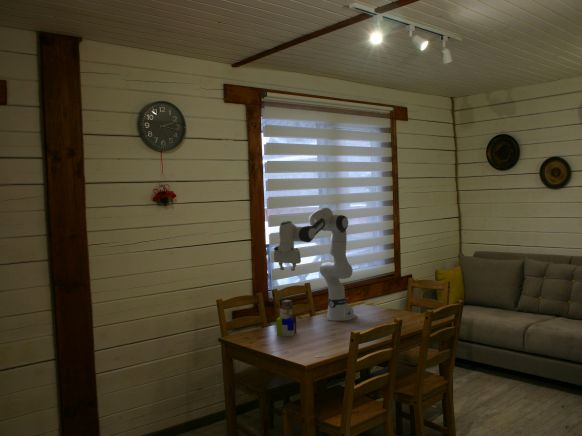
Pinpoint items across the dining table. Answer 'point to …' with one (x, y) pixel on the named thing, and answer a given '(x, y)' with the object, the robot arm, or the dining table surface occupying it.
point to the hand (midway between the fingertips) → (287, 270)
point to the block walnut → (287, 304)
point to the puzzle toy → (286, 326)
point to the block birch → (285, 313)
